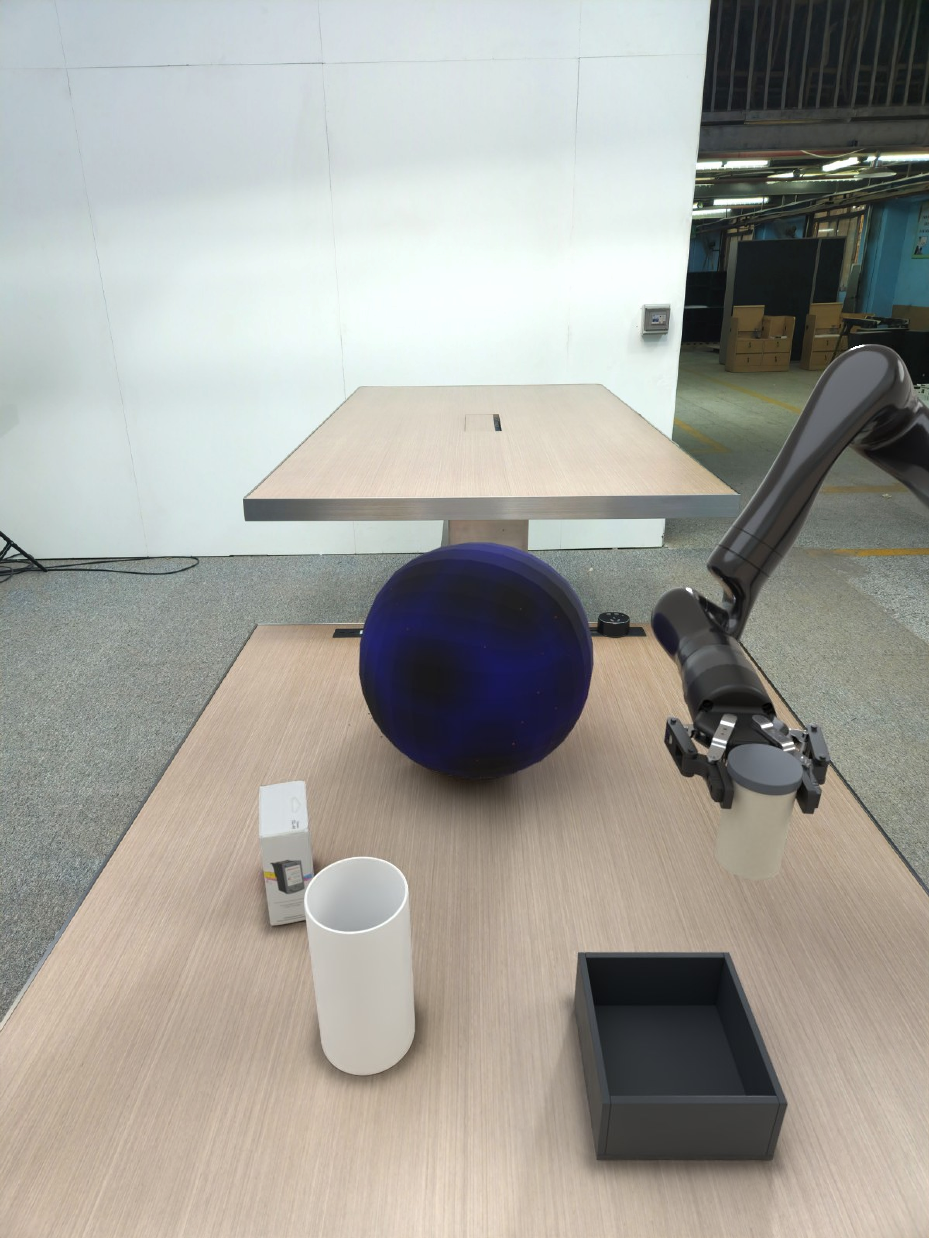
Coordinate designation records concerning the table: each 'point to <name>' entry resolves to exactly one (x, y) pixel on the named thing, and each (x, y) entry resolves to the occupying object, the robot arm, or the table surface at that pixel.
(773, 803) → the container
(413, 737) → the ball
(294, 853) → the ink box
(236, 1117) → the table surface
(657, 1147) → the open storage box
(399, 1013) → the cup
